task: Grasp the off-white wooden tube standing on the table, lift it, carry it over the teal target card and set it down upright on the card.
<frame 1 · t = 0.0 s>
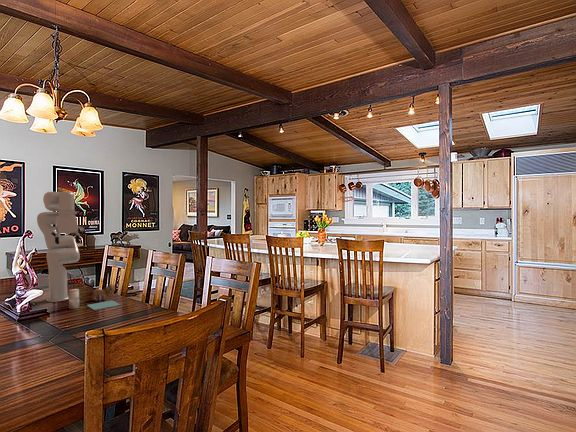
hand: (67, 243, 199), 37 cm above the table, tool pointing down, fingers open, 9 cm apart
tube: (74, 307, 199), on the table
target card: (103, 305, 203), on the table
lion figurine: (103, 299, 216), on the table
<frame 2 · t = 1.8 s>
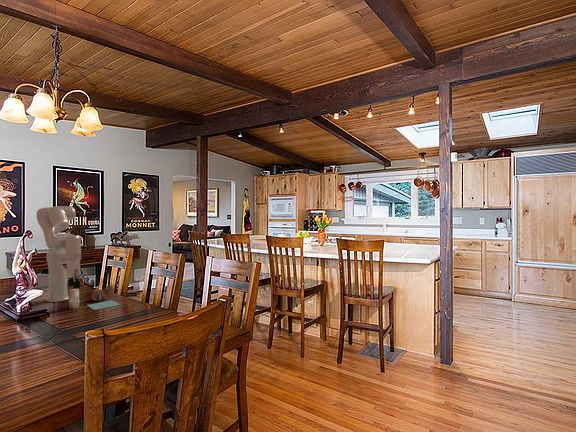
hand: (74, 287, 198), 12 cm above the table, tool pointing down, fingers open, 9 cm apart
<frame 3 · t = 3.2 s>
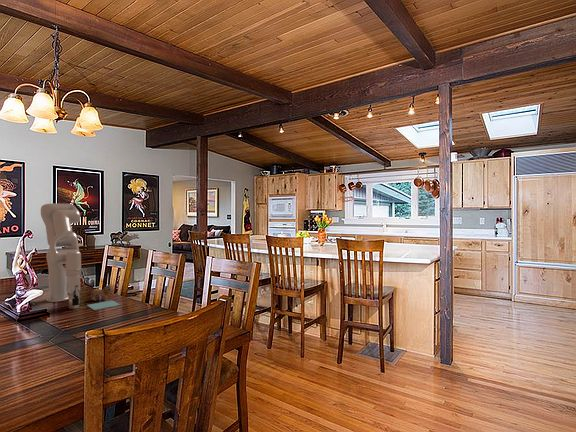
hand: (74, 303, 199), 2 cm above the table, tool pointing down, fingers closed on tube, 5 cm apart
tube: (74, 307, 199), on the table, touching gripper
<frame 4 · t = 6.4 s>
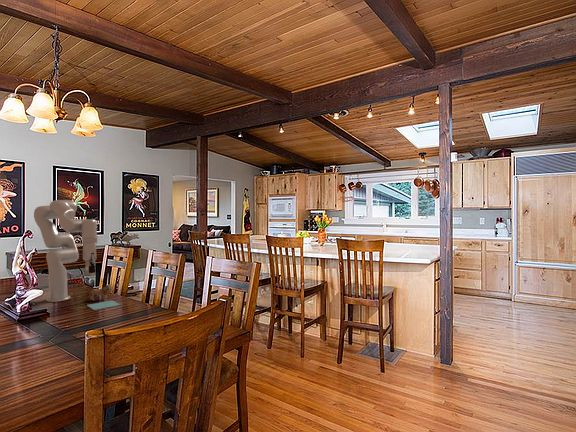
hand: (90, 271, 200), 20 cm above the table, tool pointing down, fingers closed on tube, 5 cm apart
tube: (90, 275, 200), point 18 cm above the table, touching gripper
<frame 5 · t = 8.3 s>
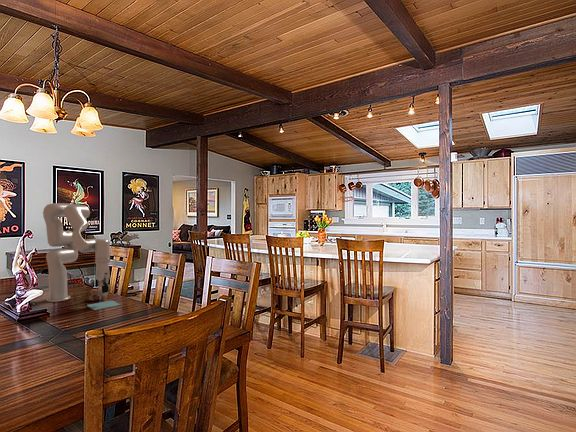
hand: (103, 291, 202), 8 cm above the table, tool pointing down, fingers closed on tube, 5 cm apart
tube: (103, 294, 202), point 6 cm above the table, touching gripper
when the fingers open (3 cm above the table, at t = 9.6 s): tube drops 1 cm, resting on target card.
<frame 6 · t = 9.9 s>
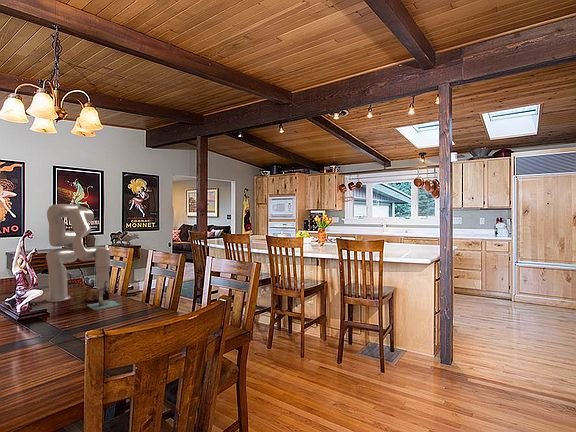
hand: (103, 298, 203), 4 cm above the table, tool pointing down, fingers open, 7 cm apart
tube: (103, 304, 203), resting on target card
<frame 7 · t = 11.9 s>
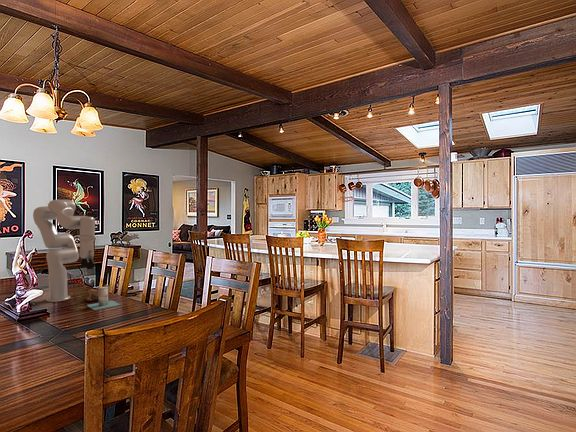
hand: (87, 267, 201), 22 cm above the table, tool pointing down, fingers open, 9 cm apart
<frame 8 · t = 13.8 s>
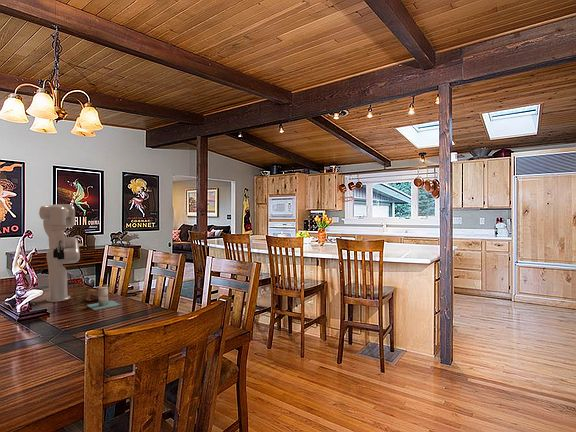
hand: (58, 258, 198), 28 cm above the table, tool pointing down, fingers open, 9 cm apart
at the end: tube inside the target area on the target card (0.1 cm from its centre), point 0.3 cm above the target card's base; tube tilted 0°; the gripper is holding nothing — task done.
